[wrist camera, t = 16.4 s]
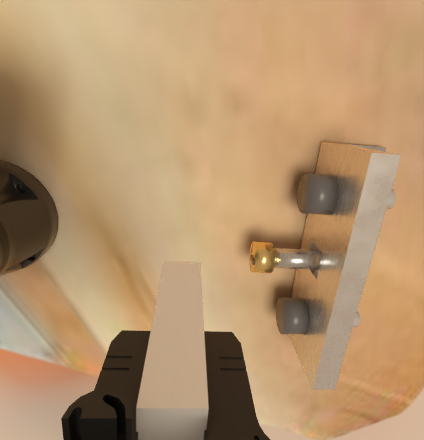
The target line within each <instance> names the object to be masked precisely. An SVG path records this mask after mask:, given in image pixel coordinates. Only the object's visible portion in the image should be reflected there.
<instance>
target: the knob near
mask: <svg viewBox="0 0 424 440" xmlns="http://www.w3.org/2000/svg"><path fill="white" fill-rule="evenodd" d="M337 197H338V185H337V181H336V179H335V177H334V176H333V175H330V174H316V173H305V174H304V175H303V176H302V177H301V179H300V182H299V185H298V190H297V204H298V208H299V211H300V212H301V213H305V214H321V215H328V214H330V213H331V212H332V211H333V209H334V207H335V205H336V202H337ZM395 198H396V196H395V192H394V191H393V190H392V189H391V193H390V196H389V200H388V203H387V207H386V209H390V208H391V207H392V206H393V205H394V203H395Z"/></svg>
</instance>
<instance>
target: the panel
mask: <svg viewBox="0 0 424 440" xmlns="http://www.w3.org/2000/svg"><path fill="white" fill-rule="evenodd" d="M385 149H386V147H378V146H366V145H354V144H342V143H330V142H321V146H320V151H319V156H318V162H317V167H316V172H315V173H316V174H330V175H333V176H334V177H335V179H336V181H337V185H338V197H337V202H336V205H335V207H334V209H333V211H332V212H331V213H330V214H328V215H321V214H307V218H306V223H305V228H304V233H303V238H302V244H301V249H303V250H320V251H321V252H322V253H323V254H322V258H321V263H320V267H319V270H313V269H296V274H295V279H294V284H293V290H292V295H291V298H302V299H304V301H305V302H306V305H307V308H308V312H309V325H308V330H307V332H306V333H305V334H303V335H302V334H288V335H289V337H290V340H291V342H292V344H293V346H294V349H295V351H296V353H297V355H298V358H299V360H300V362H301V365H302V367H303V369H304V371H305V374H306V376H307V378H308V381H309V383H310V385H311V387H312V389H321V390H335V387H336V383H337V380H338V376H339V373H340V369H341V366H342V362H343V359H344V355H345V352H346V348H347V345H348V341H349V338H350V334H351V330H352V327H353V323H354V320H355V316H356V313H357V309H358V306H359V302H360V299H361V295H362V292H363V288H364V285H365V281H366V277H367V274H368V270H369V267H370V263H371V260H372V256H373V253H374V249H375V246H376V242H377V239H378V235H379V232H380V228H381V225H382V221H383V217H384V214H385V210H386V207H387V203H388V200H389V196H390V193H391V189H392V186H393V182H394V179H395V175H396V172H397V168H398V164H399V161H400V157H401V155H398V154H393V153H388V152H385Z"/></svg>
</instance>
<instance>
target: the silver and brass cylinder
mask: <svg viewBox="0 0 424 440" xmlns="http://www.w3.org/2000/svg"><path fill="white" fill-rule="evenodd" d="M322 254H323V253H322V252H321V251H320V250H303V249H283V248H274V246H273V244H272V243H269V242H252V243H251V247H250V253H249V265H250V270H251V272H258V273H271V272H272V271H273V268H290V269H313V270H319V267H320V263H321V258H322Z"/></svg>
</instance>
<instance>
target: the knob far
mask: <svg viewBox="0 0 424 440" xmlns="http://www.w3.org/2000/svg"><path fill="white" fill-rule="evenodd" d="M276 320H277V326H278V329H279V331H280V333H281V334H302V335H303V334H305V333H306V332H307V330H308V325H309V312H308V308H307V305H306V302H305V301H304V299H302V298H285V297H280V298H279V299H278V302H277V307H276ZM359 323H360V316H359V313H358V311H357V313H356V316H355V320H354V323H353V327H357V326H358V325H359Z"/></svg>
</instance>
